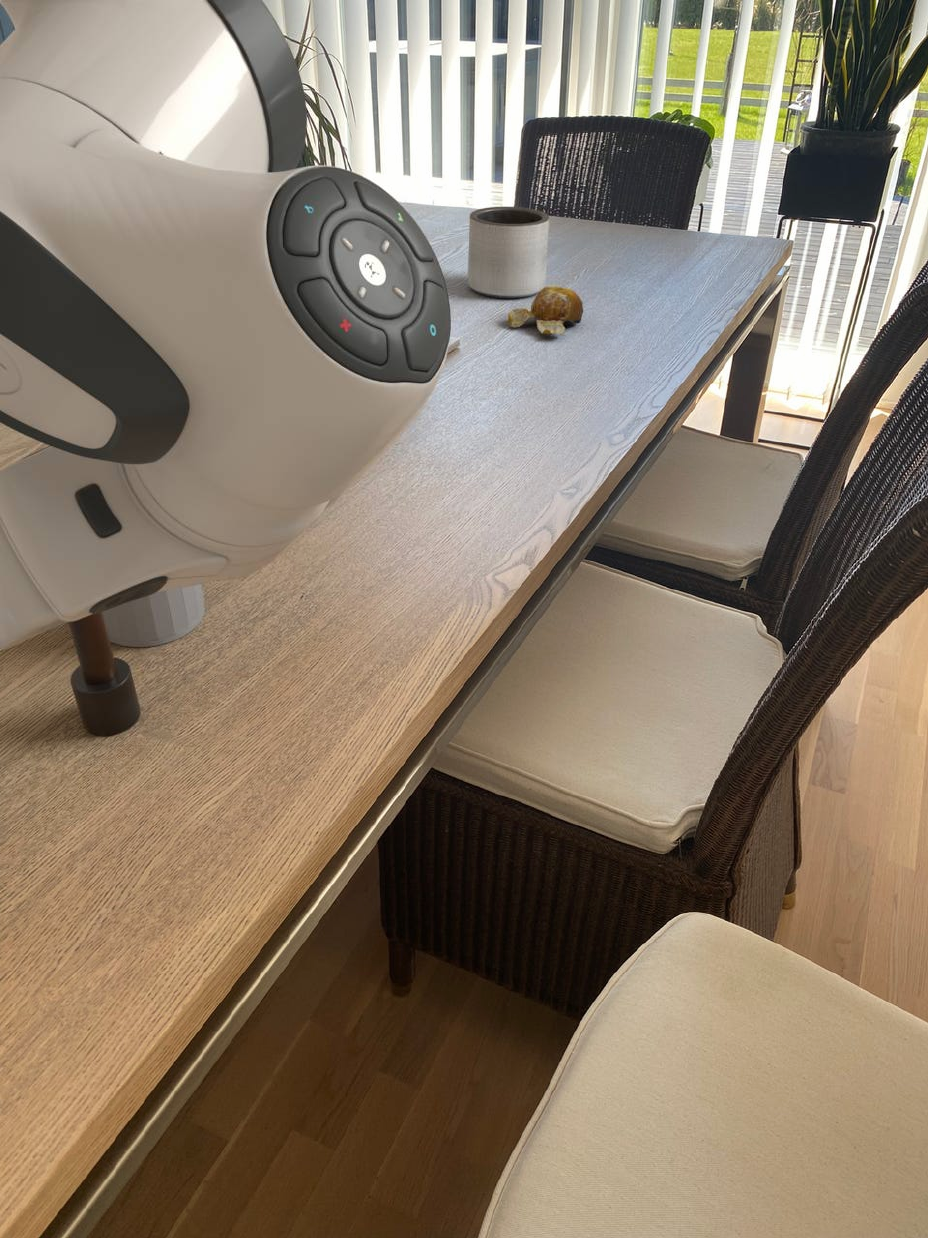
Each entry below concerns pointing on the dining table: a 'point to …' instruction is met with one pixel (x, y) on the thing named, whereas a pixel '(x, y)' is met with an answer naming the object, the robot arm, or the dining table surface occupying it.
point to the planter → (507, 251)
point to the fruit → (550, 310)
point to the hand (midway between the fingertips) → (139, 574)
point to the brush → (101, 680)
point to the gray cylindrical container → (156, 617)
